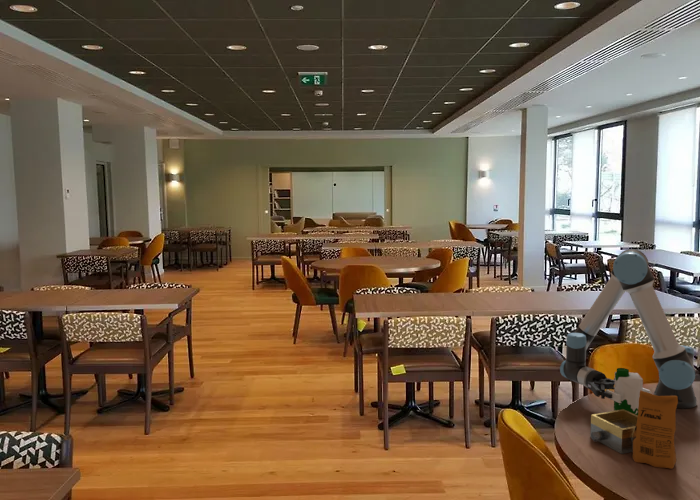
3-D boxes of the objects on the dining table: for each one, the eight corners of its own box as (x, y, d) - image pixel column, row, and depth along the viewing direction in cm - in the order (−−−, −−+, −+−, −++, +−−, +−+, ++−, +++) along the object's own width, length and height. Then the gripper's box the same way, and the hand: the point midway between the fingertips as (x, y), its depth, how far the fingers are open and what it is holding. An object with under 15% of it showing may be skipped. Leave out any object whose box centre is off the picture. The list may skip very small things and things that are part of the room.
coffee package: (634, 450, 195) (637, 385, 193) (677, 459, 188) (680, 392, 186) (629, 462, 187) (632, 394, 185) (674, 472, 180) (677, 401, 178)
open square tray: (622, 431, 211) (623, 409, 210) (654, 447, 197) (655, 423, 197) (583, 438, 205) (584, 415, 204) (614, 455, 192) (614, 431, 191)
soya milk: (611, 417, 223) (613, 365, 221) (637, 419, 221) (639, 366, 219) (616, 427, 214) (618, 372, 212) (643, 428, 212) (646, 374, 210)
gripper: (617, 384, 238) (661, 402, 218) (566, 392, 230) (606, 411, 210) (618, 366, 237) (662, 382, 217) (566, 373, 229) (607, 390, 209)
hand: (635, 396), depth 213 cm, fingers open, 13 cm apart
